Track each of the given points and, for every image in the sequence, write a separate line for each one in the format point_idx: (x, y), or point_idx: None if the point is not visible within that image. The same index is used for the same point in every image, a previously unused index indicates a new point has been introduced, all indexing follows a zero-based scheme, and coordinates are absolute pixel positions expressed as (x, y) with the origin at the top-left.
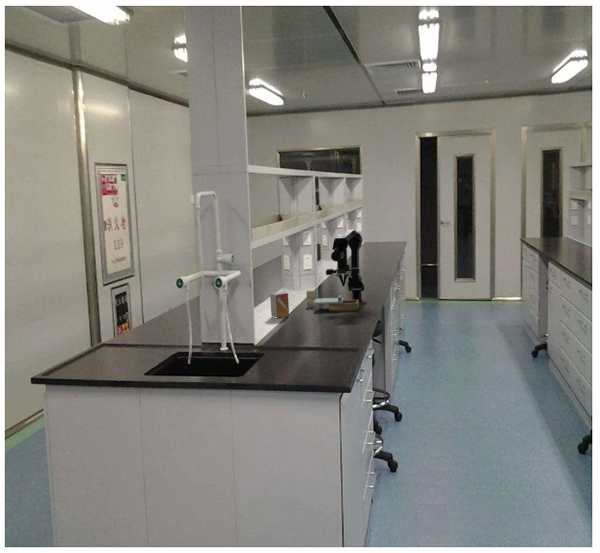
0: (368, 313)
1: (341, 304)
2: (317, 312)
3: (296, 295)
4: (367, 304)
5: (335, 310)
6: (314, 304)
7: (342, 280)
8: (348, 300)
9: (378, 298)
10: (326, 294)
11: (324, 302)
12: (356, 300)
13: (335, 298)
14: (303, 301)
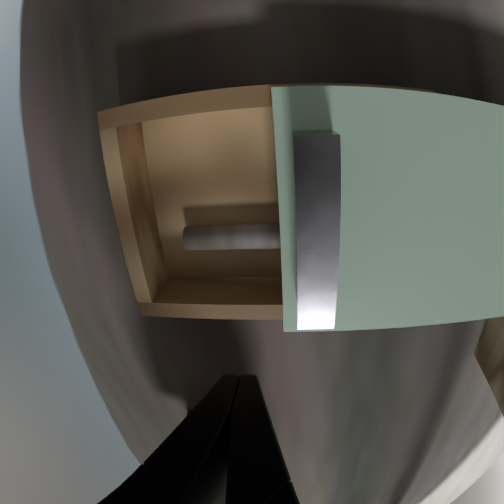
0: (51, 20)
1: (281, 85)
2: (492, 79)
3: (474, 477)
4: (125, 332)
5: None
6: (501, 321)
7: (228, 492)
8: (232, 302)
9: (130, 435)
10: (374, 499)
11: (489, 103)
12: (156, 300)
13: (373, 311)
14: (497, 416)
